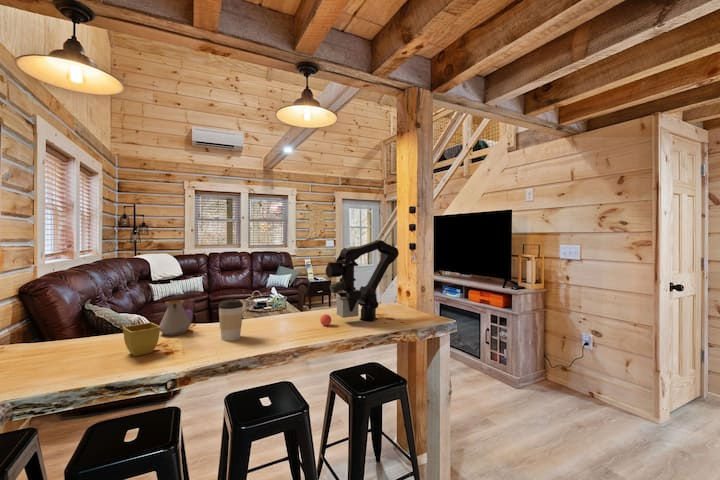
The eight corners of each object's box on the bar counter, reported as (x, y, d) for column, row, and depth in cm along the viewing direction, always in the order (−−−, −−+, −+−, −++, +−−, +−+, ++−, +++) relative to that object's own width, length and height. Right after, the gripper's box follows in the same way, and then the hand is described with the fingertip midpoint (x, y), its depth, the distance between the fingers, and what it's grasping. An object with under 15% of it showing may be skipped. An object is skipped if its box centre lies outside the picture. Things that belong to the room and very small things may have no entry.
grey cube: (351, 312, 158) (351, 296, 157) (358, 316, 151) (358, 299, 150) (336, 313, 154) (336, 297, 154) (342, 317, 147) (342, 300, 147)
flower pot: (151, 346, 118) (151, 321, 118) (160, 352, 113) (160, 326, 113) (122, 353, 111) (122, 327, 111) (130, 360, 106) (130, 332, 106)
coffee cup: (217, 336, 131) (218, 298, 131) (241, 333, 135) (242, 297, 135) (218, 343, 123) (218, 303, 123) (244, 340, 127) (244, 301, 127)
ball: (333, 325, 149) (333, 314, 149) (326, 327, 145) (326, 316, 144) (324, 323, 151) (324, 312, 151) (317, 325, 147) (317, 314, 147)
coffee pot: (159, 330, 137) (159, 294, 137) (190, 327, 143) (190, 292, 142) (155, 346, 118) (155, 305, 118) (191, 342, 124) (191, 302, 123)
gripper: (324, 274, 157) (324, 306, 158) (339, 279, 140) (338, 316, 141) (346, 273, 162) (345, 304, 162) (362, 278, 145) (362, 313, 145)
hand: (347, 309), depth 153 cm, fingers closed on grey cube, 8 cm apart
